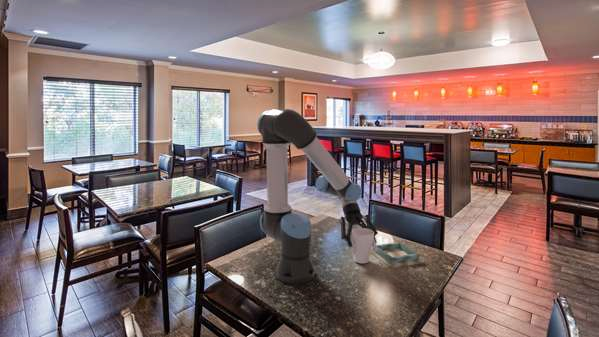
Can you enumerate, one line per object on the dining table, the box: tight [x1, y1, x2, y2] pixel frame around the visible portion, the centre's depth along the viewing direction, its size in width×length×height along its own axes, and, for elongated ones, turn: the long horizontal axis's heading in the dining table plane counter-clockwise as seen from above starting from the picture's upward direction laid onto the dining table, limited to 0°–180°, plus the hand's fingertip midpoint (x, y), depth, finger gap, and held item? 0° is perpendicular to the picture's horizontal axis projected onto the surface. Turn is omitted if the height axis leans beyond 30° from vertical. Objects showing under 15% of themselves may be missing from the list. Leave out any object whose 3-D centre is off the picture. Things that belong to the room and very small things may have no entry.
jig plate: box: [370, 241, 425, 269], centre depth 147 cm, size 17×17×4 cm
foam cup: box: [350, 227, 374, 264], centre depth 141 cm, size 10×9×13 cm
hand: (365, 252), depth 139 cm, fingers closed on foam cup, 9 cm apart
